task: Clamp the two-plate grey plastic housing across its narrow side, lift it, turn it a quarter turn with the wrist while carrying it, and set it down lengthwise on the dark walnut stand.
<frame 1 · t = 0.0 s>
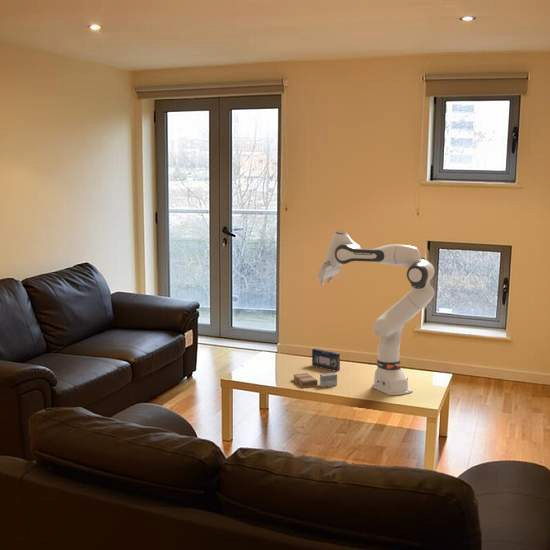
hand: (325, 283, 370), 52 cm above the table, tool tilted 20°, fingers open, 8 cm apart
vhs cassette tape: (325, 368, 392), on the table
housing: (328, 385, 360), on the table
walnut stand: (305, 382, 365), on the table
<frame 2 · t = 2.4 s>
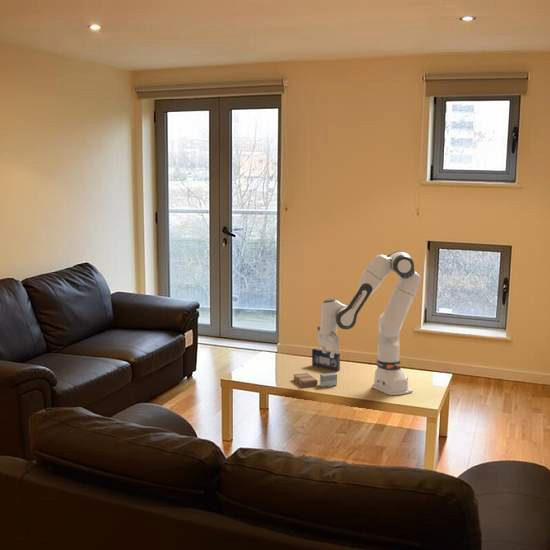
hand: (328, 355, 358), 16 cm above the table, tool pointing down, fingers open, 8 cm apart
nothing on the table moved.
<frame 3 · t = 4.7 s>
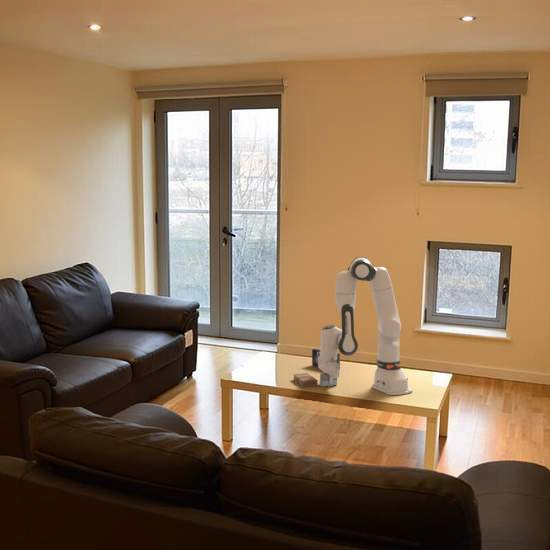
hand: (328, 381, 360), 2 cm above the table, tool pointing down, fingers closed on housing, 4 cm apart
housing: (328, 385, 360), on the table, touching gripper
everything else where it was.
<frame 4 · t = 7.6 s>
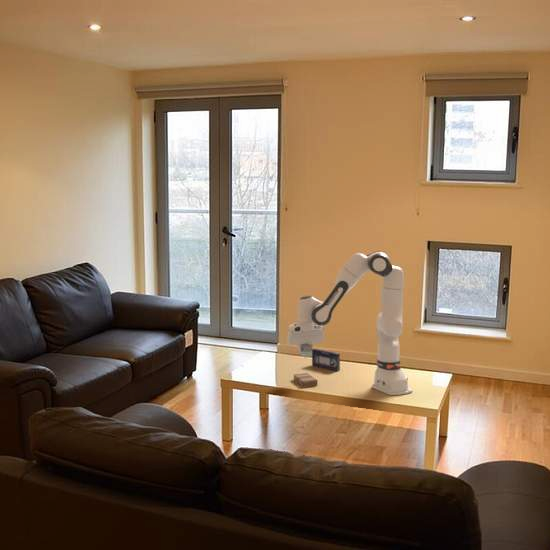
hand: (305, 351, 362), 17 cm above the table, tool pointing down, fingers closed on housing, 4 cm apart
housing: (305, 355, 362), point 15 cm above the table, touching gripper
everything else where it was.
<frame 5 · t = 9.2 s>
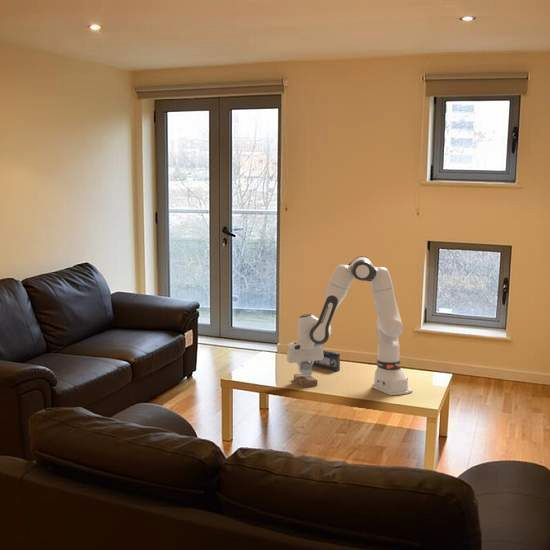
hand: (305, 369, 363), 7 cm above the table, tool pointing down, fingers closed on housing, 4 cm apart
housing: (305, 373, 364), point 5 cm above the table, touching gripper
everything else where it was.
when the fingers open (7 cm above the table, at t = 10.4 s): housing drops 1 cm, resting on walnut stand.
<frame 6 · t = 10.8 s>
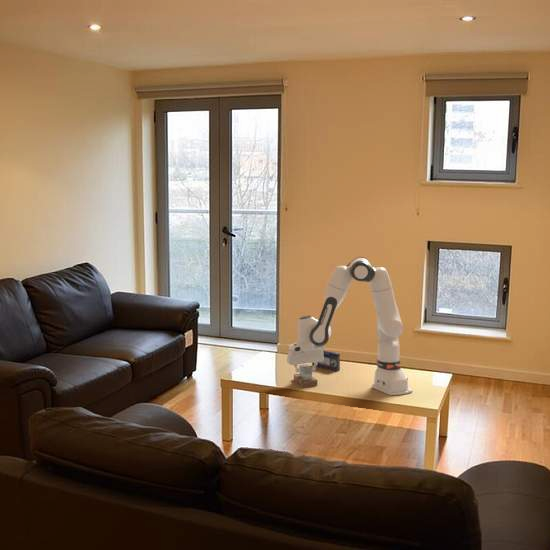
hand: (305, 370, 364), 7 cm above the table, tool pointing down, fingers open, 8 cm apart
housing: (305, 377, 364), point 3 cm above the table, touching walnut stand
everything else where it was.
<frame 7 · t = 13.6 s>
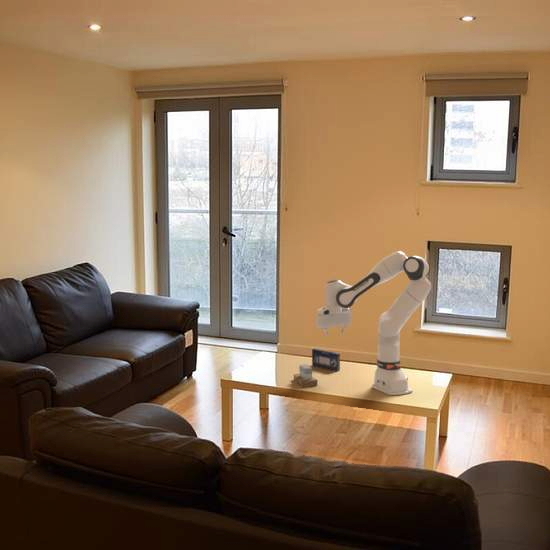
hand: (334, 334, 370), 24 cm above the table, tool pointing down, fingers open, 8 cm apart
nothing on the table moved.
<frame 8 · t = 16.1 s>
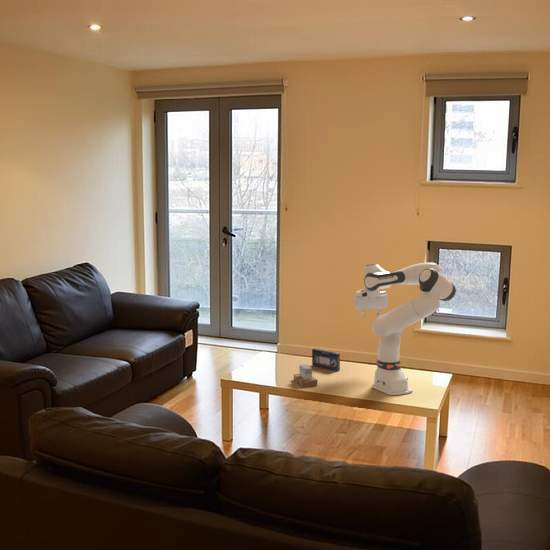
hand: (370, 316, 384), 31 cm above the table, tool pointing down, fingers open, 8 cm apart
nothing on the table moved.
at the end: housing 0.1 cm off-centre on the walnut stand, point 3.0 cm above the walnut stand's base; housing tilted 0°; the gripper is holding nothing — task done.
